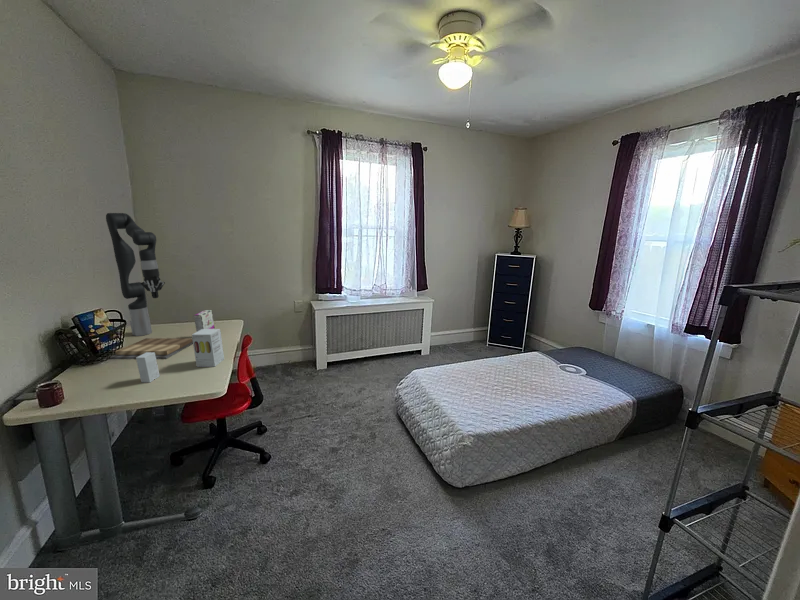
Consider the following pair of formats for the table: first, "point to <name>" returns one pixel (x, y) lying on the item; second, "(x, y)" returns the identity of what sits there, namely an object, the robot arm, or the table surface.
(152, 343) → the floor section
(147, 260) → the robot arm
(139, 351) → the oak plank
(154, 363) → the skincare box
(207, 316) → the candy bar box
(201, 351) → the supplement box
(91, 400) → the table surface
